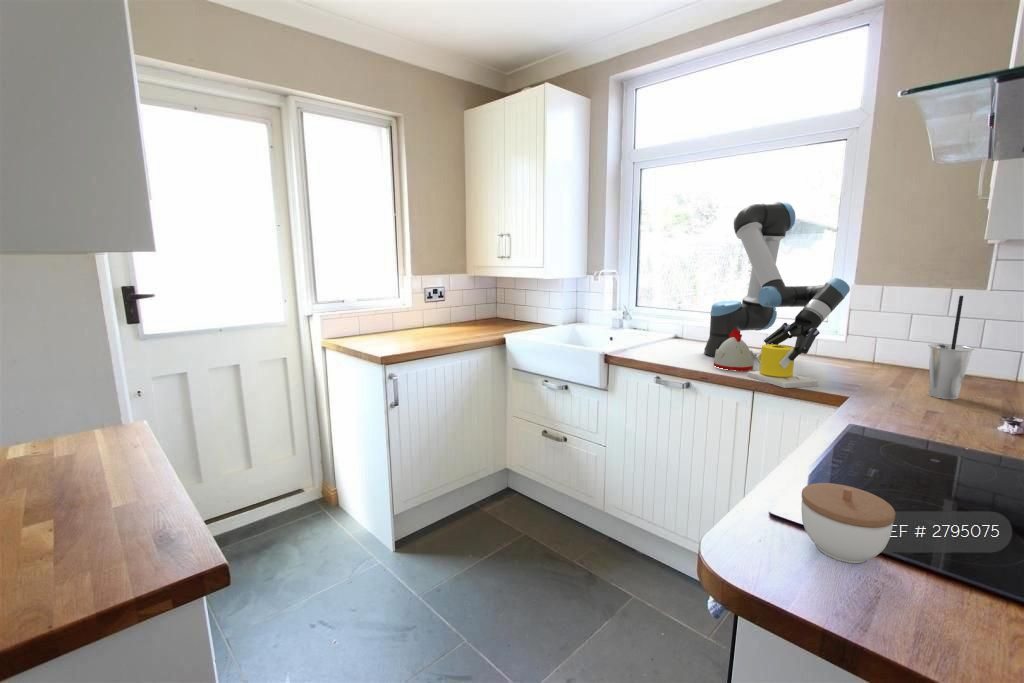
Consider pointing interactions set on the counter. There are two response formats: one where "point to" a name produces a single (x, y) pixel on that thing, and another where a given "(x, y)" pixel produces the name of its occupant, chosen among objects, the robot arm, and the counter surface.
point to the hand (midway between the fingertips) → (769, 362)
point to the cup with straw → (948, 365)
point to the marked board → (784, 380)
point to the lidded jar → (846, 521)
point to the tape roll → (775, 360)
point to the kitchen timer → (734, 354)
